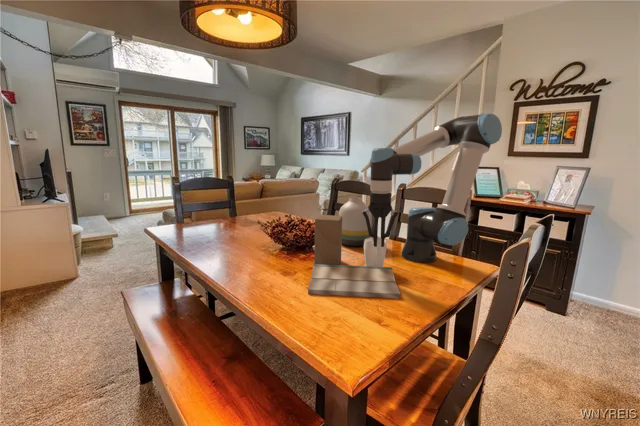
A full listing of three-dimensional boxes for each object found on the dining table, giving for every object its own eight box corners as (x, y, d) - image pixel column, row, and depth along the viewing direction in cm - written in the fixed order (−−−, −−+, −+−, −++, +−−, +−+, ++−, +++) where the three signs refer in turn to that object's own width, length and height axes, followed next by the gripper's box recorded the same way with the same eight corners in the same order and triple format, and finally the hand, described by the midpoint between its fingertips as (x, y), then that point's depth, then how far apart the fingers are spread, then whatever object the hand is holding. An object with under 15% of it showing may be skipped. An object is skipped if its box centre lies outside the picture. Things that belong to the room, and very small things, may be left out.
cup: (386, 267, 127) (388, 239, 125) (383, 274, 119) (385, 245, 117) (365, 264, 130) (366, 236, 128) (360, 271, 122) (361, 242, 120)
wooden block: (337, 268, 125) (339, 220, 121) (314, 266, 127) (314, 219, 123) (341, 260, 135) (342, 215, 131) (319, 258, 137) (319, 214, 133)
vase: (331, 243, 160) (332, 198, 155) (350, 237, 172) (351, 195, 168) (358, 250, 149) (360, 201, 144) (376, 243, 161) (378, 198, 157)
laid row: (395, 286, 108) (395, 282, 108) (399, 298, 99) (400, 293, 99) (311, 282, 110) (311, 278, 110) (308, 293, 101) (308, 289, 101)
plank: (391, 271, 117) (392, 267, 116) (395, 285, 109) (395, 281, 108) (313, 267, 119) (313, 263, 119) (311, 281, 111) (311, 277, 110)
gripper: (397, 190, 112) (394, 252, 117) (361, 190, 113) (360, 251, 118) (401, 193, 105) (397, 258, 110) (362, 193, 106) (361, 257, 111)
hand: (378, 254), depth 114 cm, fingers closed
